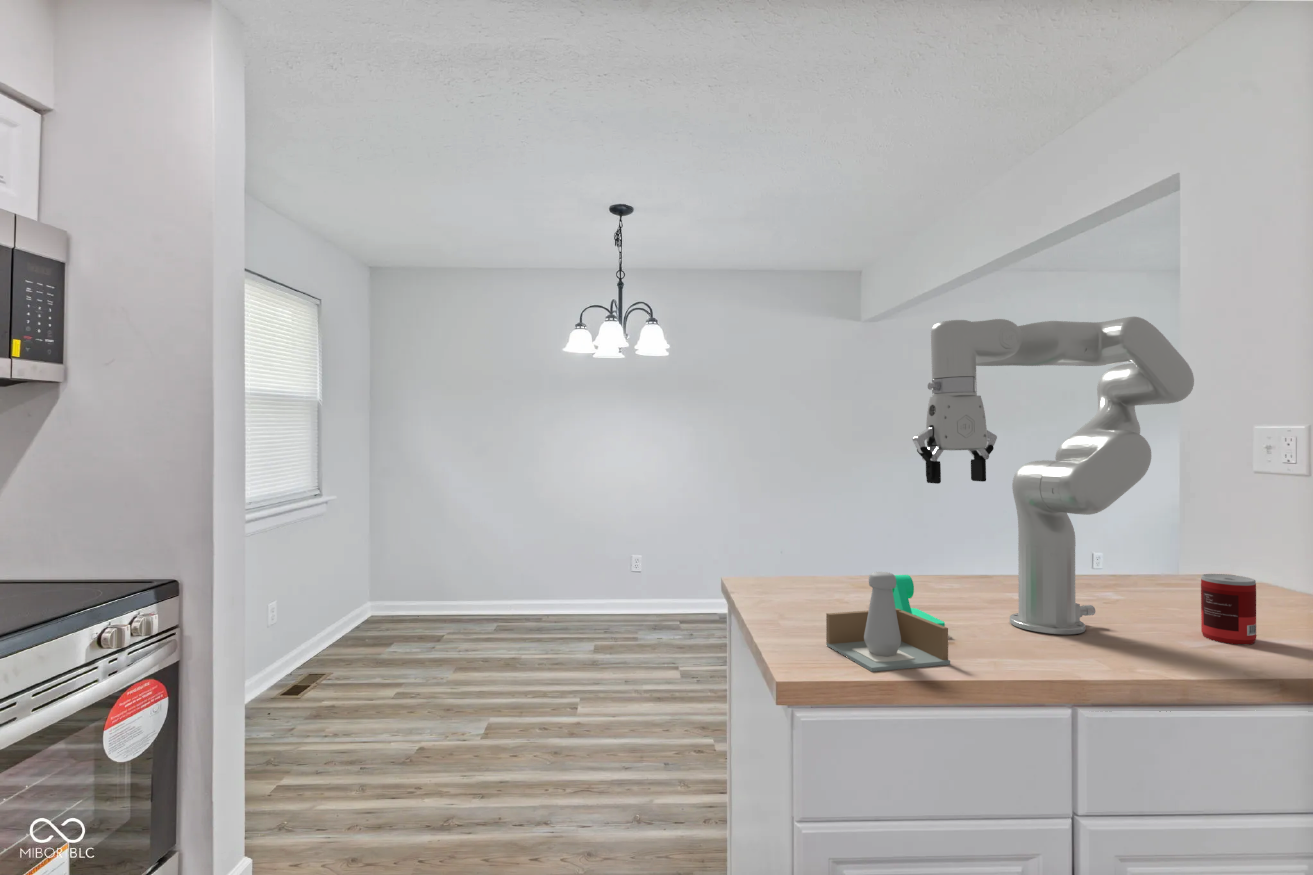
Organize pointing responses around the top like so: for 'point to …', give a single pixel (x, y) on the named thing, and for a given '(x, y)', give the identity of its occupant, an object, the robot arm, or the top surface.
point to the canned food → (1228, 608)
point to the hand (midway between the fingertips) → (956, 482)
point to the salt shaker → (882, 616)
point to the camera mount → (906, 591)
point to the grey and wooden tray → (917, 647)
